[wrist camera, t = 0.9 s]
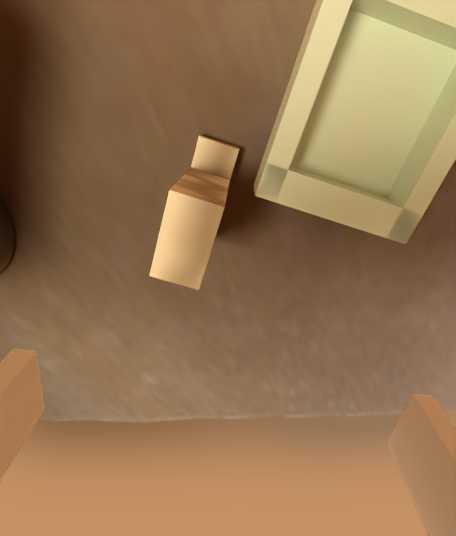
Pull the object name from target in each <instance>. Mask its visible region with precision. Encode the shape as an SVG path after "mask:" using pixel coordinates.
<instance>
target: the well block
mask: <svg viewBox="0 0 456 536" xmlns="http://www.w3.org/2000/svg"><path fill="white" fill-rule="evenodd" d="M455 160H456V0H316V3H315V6H314V9H313V12H312V15H311V18H310V21H309V24H308V26H307V29H306V32H305V35H304V38H303V41H302V44H301V47H300V50H299V53H298V56H297V59H296V62H295V65H294V68H293V70H292V73H291V76H290V79H289V82H288V85H287V88H286V91H285V94H284V97H283V100H282V103H281V106H280V109H279V111H278V114H277V117H276V120H275V123H274V126H273V129H272V132H271V135H270V138H269V141H268V144H267V147H266V150H265V152H264V155H263V158H262V161H261V164H260V167H259V170H258V173H257V176H256V179H255V182H254V185H253V186H254V192H255V196H257V197H260V198H263V199H266V200H269V201H273V202H276V203H279V204H282V205H285V206H288V207H291V208H294V209H297V210H300V211H303V212H307V213H310V214H313V215H316V216H319V217H322V218H325V219H328V220H331V221H334V222H338V223H341V224H344V225H347V226H350V227H353V228H356V229H359V230H362V231H365V232H368V233H372V234H375V235H378V236H381V237H384V238H387V239H390V240H393V241H396V242H399V243H403V244H406V243H407V242H408V240H409V238H410V237H411V235H412V233H413V231H414V230H415V228H416V226H417V225H418V223H419V221H420V219H421V218H422V216H423V214H424V213H425V211H426V209H427V207H428V206H429V204H430V202H431V201H432V199H433V197H434V195H435V194H436V192H437V190H438V189H439V187H440V185H441V183H442V182H443V180H444V178H445V177H446V175H447V173H448V171H449V170H450V168H451V166H452V165H453V163H454V161H455Z"/></svg>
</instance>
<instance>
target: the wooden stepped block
mask: <svg viewBox="0 0 456 536" xmlns="http://www.w3.org/2000/svg"><path fill="white" fill-rule="evenodd" d="M238 152H239V148H238V147H235V146H232V145H229V144H226V143H223V142H220V141H217V140H214V139H211V138H208V137H205V136H202V135H200V136H199V138H198V142H197V146H196V150H195V154H194V157H193V161H192V165H191V168H190V169H189V170H188V171H187V172H186V173H185V174H184V175H183V176H182V177H181V178H180V179H179V180H178V181H177V182H176V184H175V185H174V186H173V187H172V188H171V189H170V190H169V194H168V198H167V202H166V207H165V211H164V215H163V219H162V224H161V228H160V232H159V237H158V241H157V245H156V249H155V254H154V258H153V262H152V266H151V271H150V275H149V276H151V277H155V278H158V279H162V280H165V281H169V282H172V283H175V284H179V285H182V286H186V287H189V288H193V289H196V290H199V288H200V284H201V281H202V278H203V275H204V272H205V269H206V265H207V262H208V259H209V256H210V253H211V249H212V246H213V243H214V240H215V237H216V233H217V230H218V227H219V224H220V221H221V217H222V214H223V211H224V208H225V203H226V198H227V193H228V187H229V182H230V178H231V175H232V172H233V169H234V165H235V162H236V159H237V156H238Z"/></svg>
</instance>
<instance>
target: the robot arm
mask: <svg viewBox="0 0 456 536" xmlns="http://www.w3.org/2000/svg"><path fill="white" fill-rule="evenodd" d="M13 249H14V232H13V227H12V223H11V220H10V217H9V215H8V213H7V211H6V209H5V207H4V205H3V203H2V202H1V200H0V273H1V272H2V271H3V270H4V269H5V267H6V266H7V265H8V263H9V261H10V259H11V257H12V254H13ZM44 410H45V406H44V399H43V392H42V385H41V378H40V371H39V364H38V357H37V351H33V350H24V349H15V348H13V349H12V350H11V351H10V353H9V354H8V355H7V356H6V357H5V358H4V359H3V360H2V361H1V362H0V481H1V479H2V477H3V476H4V474H5V473H6V471H7V469H8V468H9V466H10V465H11V463H12V461H13V460H14V458H15V457H16V455H17V453H18V452H19V450H20V448H21V447H22V445H23V444H24V442H25V441H26V439H27V437H28V436H29V434H30V433H31V431H32V429H33V428H34V426H35V424H36V422H37V421H38V420H39V418H40V416H41V415H42V413H43V412H44ZM387 447H388V449H389V451H390V454H391V456H392V458H393V460H394V462H395V464H396V467H397V469H398V471H399V473H400V475H401V477H402V479H403V482H404V484H405V486H406V488H407V490H408V493H409V495H410V497H411V499H412V501H413V503H414V506H415V507H416V510H417V512H418V514H419V516H420V519H421V521H422V523H423V525H424V527H425V529H426V532H427V534H428V536H456V427H455V425H454V424H453V423H452V421H451V420H450V418H449V417H448V415H447V414H446V413H445V411H444V410H443V408H442V407H441V405H440V404H439V403H438V401H437V400H436V398H435V397H434V396H432V395H423V394H415V393H413V394H412V396H411V398H410V400H409V402H408V404H407V406H406V408H405V410H404V412H403V414H402V415H401V418H400V419H399V421H398V423H397V425H396V427H395V429H394V431H393V433H392V435H391V437H390V439H389V441H388V443H387Z"/></svg>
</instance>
